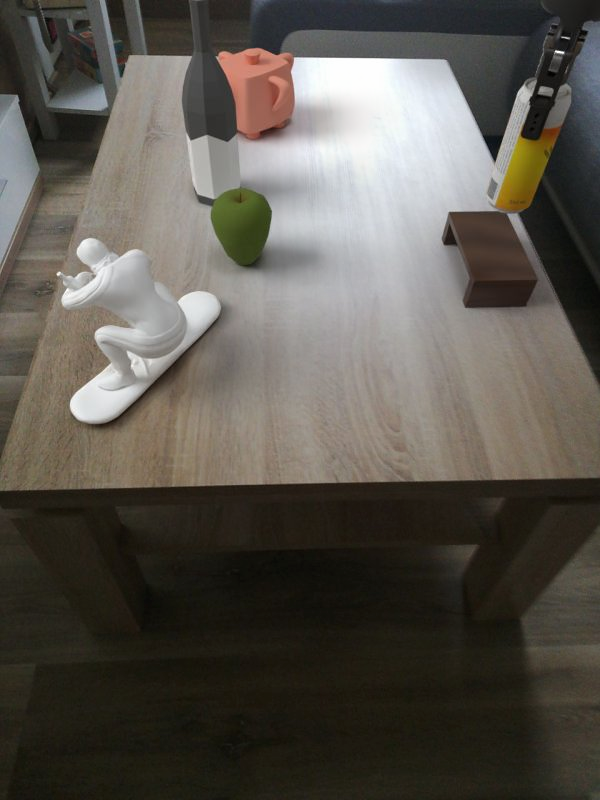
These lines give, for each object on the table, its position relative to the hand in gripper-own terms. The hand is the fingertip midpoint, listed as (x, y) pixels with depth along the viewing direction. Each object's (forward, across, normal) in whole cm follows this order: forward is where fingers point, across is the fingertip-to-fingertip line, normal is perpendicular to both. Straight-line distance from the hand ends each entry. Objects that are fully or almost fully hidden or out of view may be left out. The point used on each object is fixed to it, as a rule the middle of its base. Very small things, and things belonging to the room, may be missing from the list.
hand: (534, 125), depth 68 cm
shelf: (+22, 0, 0) cm, 22 cm away
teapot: (+22, +23, +52) cm, 61 cm away
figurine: (+23, -37, +35) cm, 55 cm away
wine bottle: (+22, 0, +46) cm, 51 cm away
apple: (+23, -14, +34) cm, 43 cm away
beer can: (+11, 0, 0) cm, 11 cm away
